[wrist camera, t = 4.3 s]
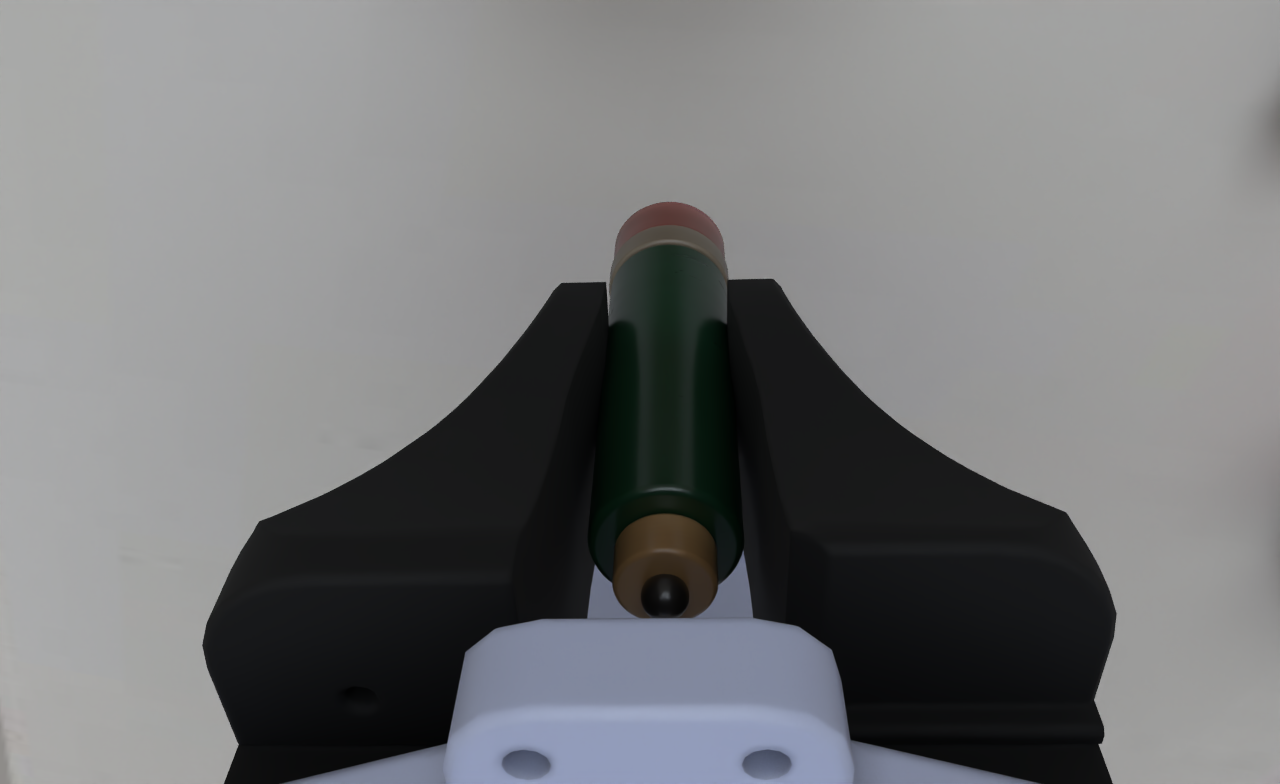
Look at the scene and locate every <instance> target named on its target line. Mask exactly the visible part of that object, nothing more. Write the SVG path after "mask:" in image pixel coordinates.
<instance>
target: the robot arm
mask: <svg viewBox="0 0 1280 784" xmlns="http://www.w3.org/2000/svg"><path fill="white" fill-rule="evenodd" d="M608 332H609V320H608V305H607V290H606V282H589V283H561V284H560V285H559V286H558V287H557V288H556V289H555V290H554V291H553V292H552V294H551V296H550V297H549V299H548V300H547V302H546V303H545V305H544V306H543V307H542V309H541V310H540V312H539V313H538V315H537V316H536V317H535V319H534V320H533V321H532V323H531V324H530V326H529V327H528V328H527V330H526V331H525V332H524V334H523V335H522V336H521V337H520V339H519V340H518V341H517V342H516V344H515V345H514V346H513V347H512V348H511V350H510V351H509V352H508V353H507V355H506V356H505V357H504V358H503V360H502V361H501V362H500V363H499V364H498V365H497V366H496V368H495V369H494V370H493V371H492V372H491V373H490V374H489V375H488V376H487V377H486V378H485V379H484V380H483V381H482V383H481V384H480V385H479V386H478V387H477V388H476V389H475V390H474V391H473V392H472V393H471V394H470V395H469V396H468V397H467V398H466V399H465V400H464V401H463V402H462V403H461V404H460V405H459V406H458V407H457V408H456V409H454V410H453V411H452V412H451V413H450V414H449V415H448V416H446V417H445V418H444V419H443V420H442V421H440V422H439V423H438V424H437V425H436V426H434V427H433V428H432V429H430V430H429V431H428V432H427V433H425V434H424V435H422V436H421V437H419V438H418V439H416V440H415V441H413V442H412V443H411V444H409V445H408V446H406V447H405V448H403V449H402V450H400V451H399V452H398V453H396V454H395V455H393V456H392V457H390V458H389V459H387V460H386V461H384V462H383V463H381V464H379V465H378V466H376V467H374V468H372V469H371V470H369V471H367V472H366V473H364V474H362V475H360V476H359V477H357V478H355V479H353V480H351V481H349V482H347V483H345V484H343V485H342V486H340V487H338V488H336V489H334V490H332V491H330V492H328V493H326V494H324V495H321V496H319V497H317V498H315V499H312V500H310V501H308V502H305V503H303V504H301V505H298V506H296V507H294V508H291V509H289V510H287V511H284V512H282V513H280V514H277V515H275V516H272V517H270V518H267V519H264V520H262V521H259V523H258V524H257V526H256V528H255V530H254V532H253V533H252V535H251V536H250V538H249V539H248V541H247V543H246V544H245V546H244V547H243V549H242V550H241V552H240V554H239V556H238V558H237V560H236V561H235V563H234V565H233V567H232V569H231V571H230V573H229V575H228V577H227V580H226V582H225V584H224V586H223V588H222V591H221V593H220V595H219V597H218V600H217V602H216V604H215V606H214V608H213V611H212V613H211V615H210V617H209V619H208V622H207V625H206V630H205V635H204V640H203V645H202V646H203V650H204V655H205V660H206V664H207V668H208V671H209V673H210V676H211V678H212V681H213V683H214V686H215V688H216V690H217V693H218V695H219V698H220V700H221V703H222V705H223V708H224V710H225V712H226V715H227V717H228V720H229V722H230V725H231V727H232V730H233V732H234V734H235V737H236V739H237V742H238V744H239V745H238V748H237V751H236V753H235V756H234V759H233V761H232V764H231V767H230V769H229V772H228V775H227V777H226V780H225V783H224V784H1113V783H1112V780H1111V778H1110V775H1109V772H1108V769H1107V767H1106V764H1105V761H1104V758H1103V756H1102V753H1101V750H1100V747H1099V745H1098V744H1102V741H1103V738H1104V726H1103V723H1102V720H1101V718H1100V715H1099V712H1098V710H1097V707H1096V704H1095V702H1094V698H1095V695H1096V692H1097V689H1098V685H1099V682H1100V679H1101V676H1102V673H1103V670H1104V667H1105V663H1106V660H1107V657H1108V654H1109V651H1110V648H1111V645H1112V641H1113V638H1114V631H1115V623H1116V610H1115V607H1114V604H1113V600H1112V597H1111V594H1110V591H1109V588H1108V586H1107V583H1106V581H1105V579H1104V577H1103V574H1102V572H1101V570H1100V568H1099V566H1098V564H1097V562H1096V560H1095V558H1094V557H1093V555H1092V553H1091V551H1090V550H1089V548H1088V546H1087V545H1086V543H1085V541H1084V540H1083V538H1082V537H1081V535H1080V534H1079V532H1078V530H1077V529H1076V527H1075V526H1074V524H1073V523H1072V521H1071V519H1070V518H1069V516H1068V514H1067V513H1066V512H1064V511H1061V510H1059V509H1056V508H1054V507H1051V506H1049V505H1047V504H1044V503H1042V502H1039V501H1037V500H1034V499H1032V498H1029V497H1027V496H1024V495H1022V494H1020V493H1017V492H1015V491H1012V490H1010V489H1007V488H1005V487H1003V486H1001V485H999V484H997V483H995V482H993V481H991V480H989V479H987V478H985V477H983V476H981V475H979V474H977V473H976V472H974V471H972V470H970V469H968V468H966V467H964V466H963V465H961V464H959V463H957V462H956V461H954V460H952V459H950V458H949V457H947V456H945V455H944V454H942V453H941V452H939V451H938V450H936V449H935V448H933V447H932V446H930V445H929V444H927V443H926V442H924V441H923V440H921V439H920V438H918V437H916V436H915V435H914V434H912V433H911V432H910V431H908V430H907V429H905V428H904V427H903V426H901V425H900V424H899V423H897V422H896V421H895V420H894V419H893V418H891V417H890V416H889V415H888V414H887V413H885V412H884V411H883V410H882V409H881V408H879V407H878V406H877V405H876V404H875V403H874V402H872V401H871V400H870V399H869V398H868V397H867V396H866V395H865V394H864V393H863V392H862V391H861V390H860V389H859V388H858V387H857V386H856V385H855V384H854V383H853V382H852V381H851V379H850V378H849V377H848V376H847V375H846V374H845V373H844V372H843V371H842V370H841V369H840V368H839V366H838V365H837V364H836V363H835V362H834V361H833V360H832V358H831V357H830V356H829V355H828V353H827V352H826V351H825V350H824V348H823V347H822V346H821V345H820V344H819V342H818V341H817V340H816V339H815V337H814V336H813V335H812V333H811V332H810V331H809V329H808V328H807V327H806V325H805V324H804V323H803V321H802V320H801V318H800V317H799V315H798V314H797V313H796V311H795V310H794V308H793V306H792V305H791V303H790V302H789V300H788V299H787V297H786V295H785V294H784V292H783V290H782V288H781V286H780V285H779V284H778V283H777V282H776V281H775V280H774V279H738V280H727V334H728V349H729V363H730V372H731V378H732V385H733V392H734V399H735V410H736V424H737V438H738V453H739V467H740V481H741V496H742V510H743V524H744V539H745V542H744V550H743V553H742V556H741V558H740V560H739V563H738V564H737V566H736V568H735V569H734V571H733V572H732V573H731V574H730V575H729V576H728V578H727V579H725V580H724V581H723V582H722V583H721V584H719V585H718V591H717V594H716V597H715V599H714V600H713V602H712V603H711V605H710V606H709V607H708V608H707V609H706V610H705V611H704V612H703V613H701V614H700V615H698V616H696V617H694V618H638V617H636V616H634V615H632V614H630V613H629V612H628V611H626V610H625V609H624V608H623V607H622V606H621V605H620V603H619V602H618V600H617V598H616V597H615V594H614V592H613V587H612V583H611V582H610V581H609V580H608V579H606V578H605V577H604V576H603V575H602V573H601V572H600V571H599V570H598V568H597V567H596V565H595V563H594V561H593V560H592V557H591V555H590V552H589V549H588V544H587V534H588V524H589V513H590V503H591V492H592V482H593V472H594V461H595V451H596V440H597V430H598V419H599V409H600V401H601V392H602V386H603V379H604V373H605V364H606V354H607V343H608Z"/></svg>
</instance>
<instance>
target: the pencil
mask: <svg viewBox="0 0 1280 784" xmlns="http://www.w3.org/2000/svg"><path fill="white" fill-rule="evenodd" d="M727 280H728V269H727V265H726V261H725V252H724V242H723V238H722V235H721V233H720V231H719V229H718V227H717V225H716V224H715V223H714V222H713V220H712V219H711V218H710V217H709V216H707V215H706V214H705V213H703V212H702V211H700V210H699V209H697V208H695V207H692V206H690V205H687V204H683V203H677V202H662V203H656V204H652V205H649V206H647V207H645V208H643V209H641V210H639V211H637V212H636V213H634V214H633V215H632V216H631V217H630V218H629V219H628V220H627V221H626V222H625V223H624V224H623V226H622V228H621V229H620V231H619V233H618V236H617V239H616V244H615V252H614V260H613V263H612V267H611V273H610V283H609V295H610V305H609V315H608V320H609V332H608V343H607V354H606V364H605V373H604V379H603V386H602V392H601V401H600V409H599V419H598V430H597V440H596V451H595V461H594V472H593V482H592V492H591V503H590V513H589V524H588V534H587V544H588V549H589V552H590V555H591V557H592V560H593V561H594V563H595V565H596V567H597V568H598V570H599V571H600V572H601V573H602V575H603V576H604V577H605V578H606V579H608V580H609V581H610V582H611V583H612V587H613V592H614V594H615V597H616V598H617V600H618V602H619V603H620V605H621V606H622V607H623V608H624V609H625V610H626V611H628V612H629V613H630V614H632V615H634V616H636V617H638V618H694V617H696V616H698V615H700V614H701V613H703V612H704V611H705V610H706V609H707V608H708V607H709V606H710V605H711V603H712V602H713V600H714V599H715V597H716V594H717V591H718V585H719V584H721V583H722V582H723V581H724V580H725V579H727V578H728V576H729V575H730V574H731V573H732V572H733V571H734V569H735V568H736V566H737V564H738V563H739V560H740V558H741V556H742V553H743V550H744V542H745V539H744V524H743V510H742V496H741V481H740V467H739V453H738V438H737V424H736V410H735V399H734V392H733V385H732V378H731V372H730V363H729V349H728V334H727Z"/></svg>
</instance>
